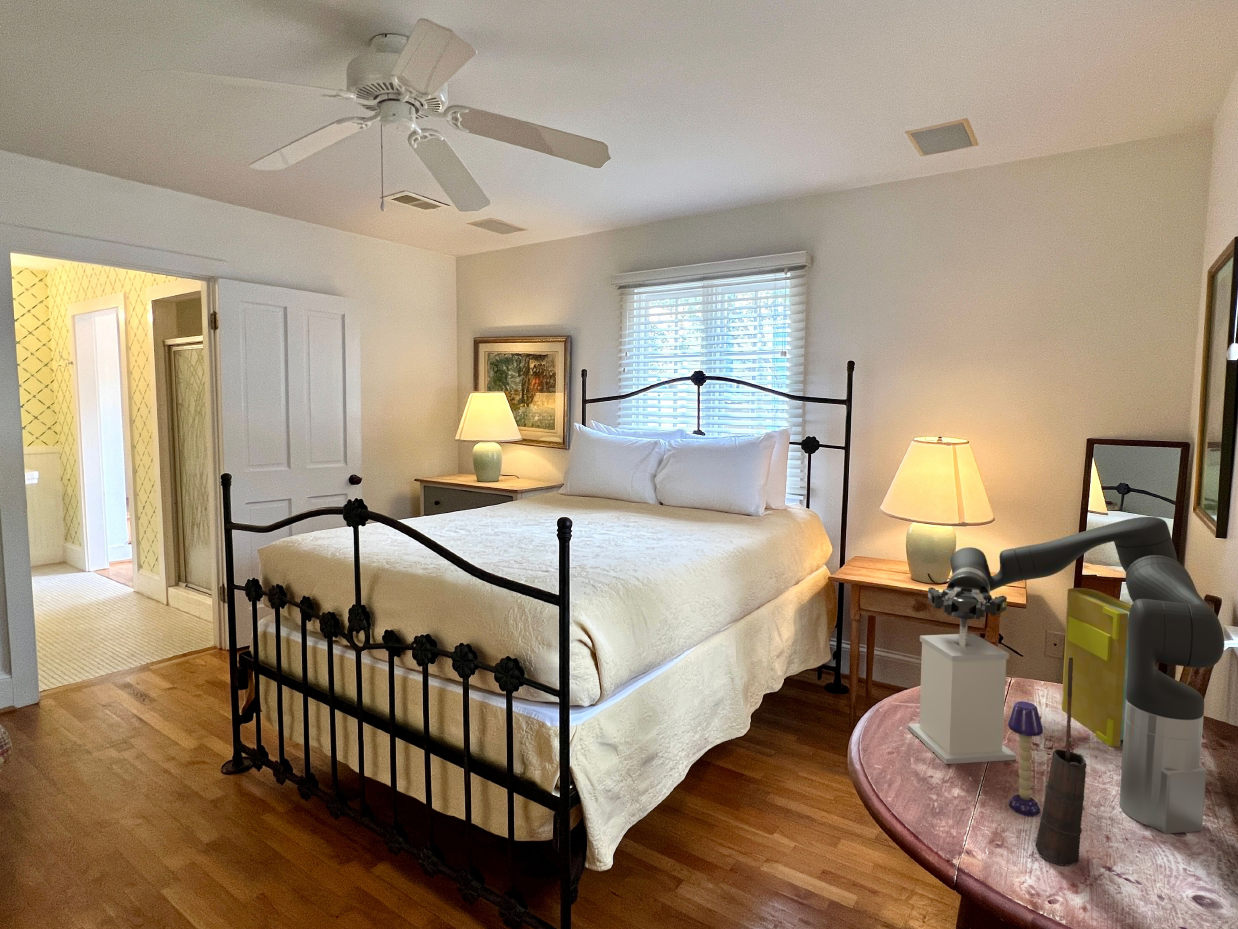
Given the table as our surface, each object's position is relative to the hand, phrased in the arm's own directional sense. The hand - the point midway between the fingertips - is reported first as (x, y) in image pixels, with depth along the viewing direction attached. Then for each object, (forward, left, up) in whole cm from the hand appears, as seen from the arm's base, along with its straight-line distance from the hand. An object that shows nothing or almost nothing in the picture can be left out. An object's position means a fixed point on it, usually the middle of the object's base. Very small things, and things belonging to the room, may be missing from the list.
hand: (963, 611), depth 123 cm
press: (+2, -2, -26) cm, 26 cm away
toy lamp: (-18, 0, -26) cm, 31 cm away
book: (+6, -33, -26) cm, 42 cm away
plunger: (+2, -2, -24) cm, 25 cm away
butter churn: (-30, +3, -26) cm, 40 cm away
